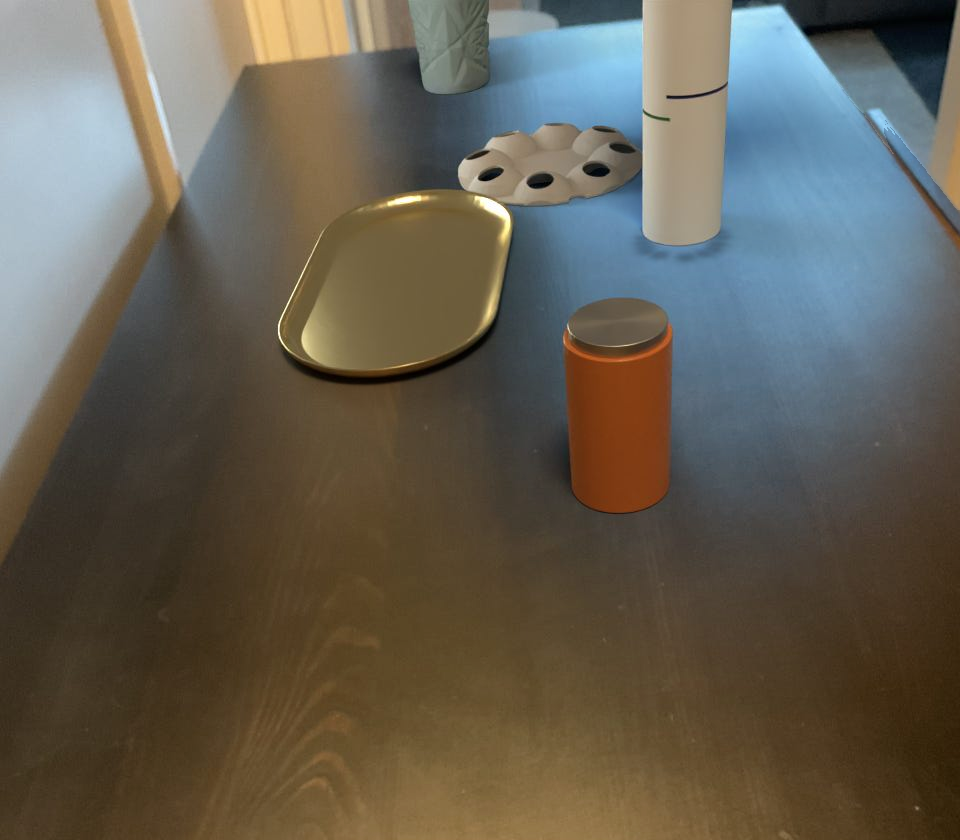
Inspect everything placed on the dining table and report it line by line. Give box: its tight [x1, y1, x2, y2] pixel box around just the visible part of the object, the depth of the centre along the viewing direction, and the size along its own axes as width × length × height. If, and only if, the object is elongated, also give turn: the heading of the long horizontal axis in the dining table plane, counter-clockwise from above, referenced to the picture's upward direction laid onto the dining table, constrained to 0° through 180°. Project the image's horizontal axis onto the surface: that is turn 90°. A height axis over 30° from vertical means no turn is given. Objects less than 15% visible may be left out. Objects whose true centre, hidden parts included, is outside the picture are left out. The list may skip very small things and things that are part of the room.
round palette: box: [457, 122, 643, 207], centre depth 114 cm, size 20×20×2 cm
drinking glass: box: [407, 0, 490, 95], centre depth 133 cm, size 10×10×12 cm
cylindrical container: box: [642, 0, 733, 247], centre depth 92 cm, size 7×7×25 cm
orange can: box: [563, 297, 674, 514], centre depth 69 cm, size 7×7×12 cm
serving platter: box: [277, 188, 515, 379], centre depth 97 cm, size 19×35×2 cm, turn 174°
